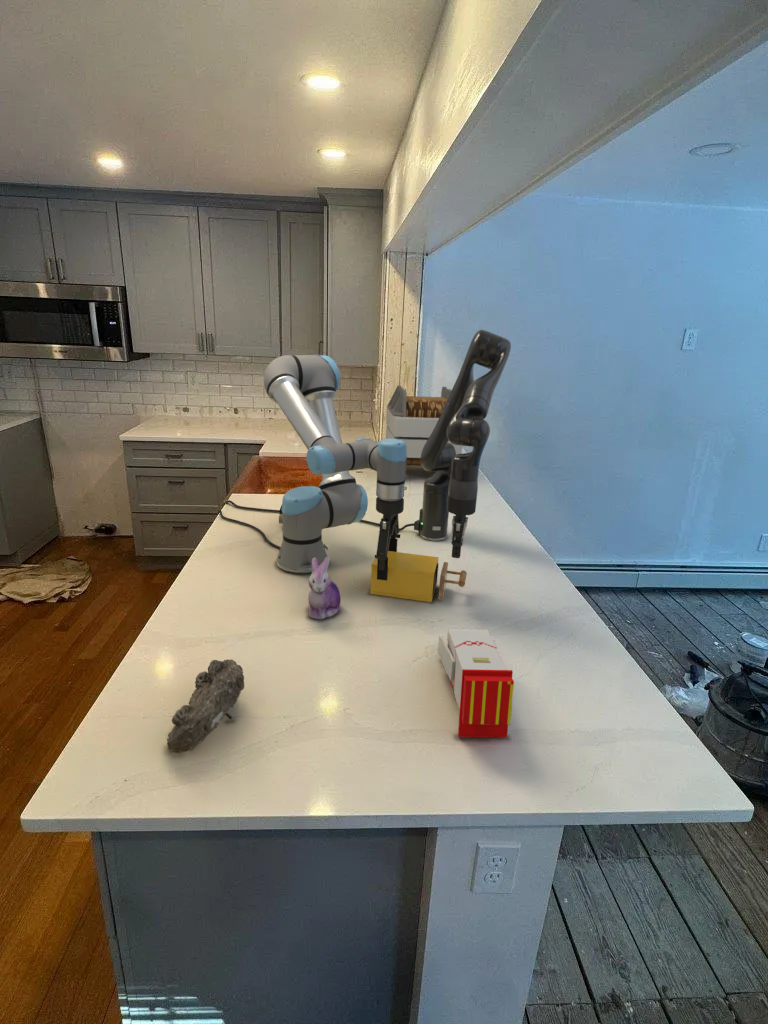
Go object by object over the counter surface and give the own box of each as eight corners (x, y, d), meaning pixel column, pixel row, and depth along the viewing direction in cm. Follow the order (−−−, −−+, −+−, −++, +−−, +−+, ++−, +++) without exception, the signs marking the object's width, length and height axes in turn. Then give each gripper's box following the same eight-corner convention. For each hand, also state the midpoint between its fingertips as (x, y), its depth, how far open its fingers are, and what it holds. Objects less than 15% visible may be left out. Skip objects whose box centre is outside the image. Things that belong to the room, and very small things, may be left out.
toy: (488, 613, 130) (523, 677, 101) (484, 667, 133) (517, 744, 104) (435, 612, 130) (455, 676, 101) (432, 666, 133) (451, 743, 103)
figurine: (313, 624, 141) (313, 569, 135) (299, 605, 149) (299, 553, 144) (348, 616, 145) (349, 563, 140) (333, 598, 153) (333, 547, 148)
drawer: (465, 587, 161) (467, 564, 159) (463, 602, 153) (465, 578, 150) (391, 577, 165) (392, 555, 163) (385, 591, 157) (386, 568, 154)
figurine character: (297, 533, 199) (302, 514, 212) (296, 514, 196) (301, 496, 209) (278, 533, 199) (284, 514, 212) (277, 514, 195) (283, 495, 209)
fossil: (192, 660, 117) (244, 628, 112) (224, 691, 120) (276, 661, 115) (142, 746, 98) (202, 712, 93) (182, 779, 101) (242, 748, 96)
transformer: (382, 463, 289) (386, 382, 275) (445, 464, 293) (451, 384, 279) (390, 482, 257) (394, 392, 243) (460, 483, 261) (468, 394, 247)
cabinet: (436, 585, 164) (438, 557, 161) (431, 602, 154) (434, 572, 151) (378, 577, 167) (379, 549, 164) (370, 593, 157) (371, 564, 154)
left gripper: (395, 513, 140) (391, 590, 147) (411, 485, 163) (407, 553, 170) (365, 510, 141) (363, 586, 148) (385, 483, 164) (383, 550, 171)
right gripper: (475, 504, 141) (469, 563, 146) (478, 488, 154) (472, 543, 159) (445, 501, 142) (440, 560, 147) (450, 485, 155) (445, 539, 161)
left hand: (387, 569), depth 159 cm, fingers open, 13 cm apart
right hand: (457, 551), depth 153 cm, fingers open, 8 cm apart
